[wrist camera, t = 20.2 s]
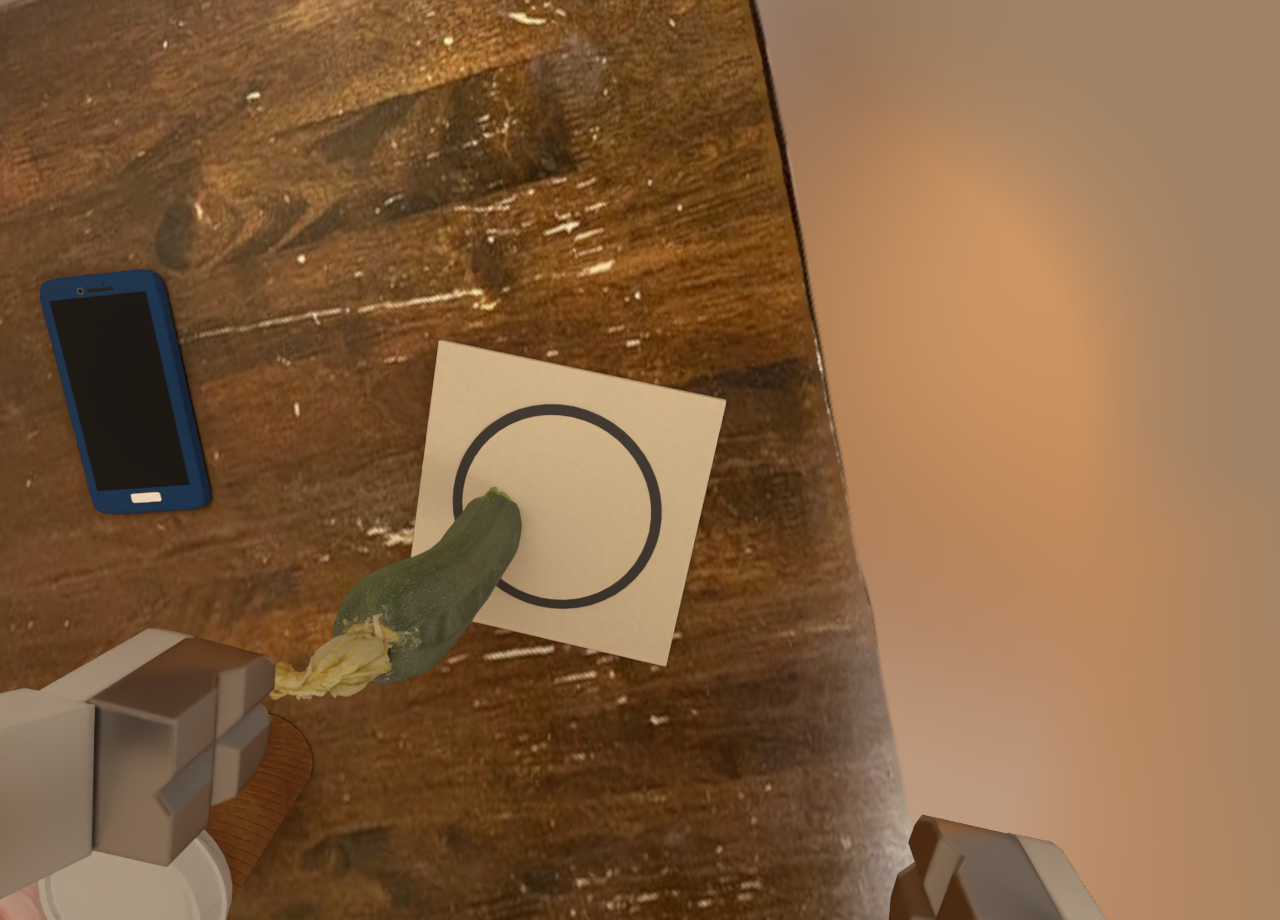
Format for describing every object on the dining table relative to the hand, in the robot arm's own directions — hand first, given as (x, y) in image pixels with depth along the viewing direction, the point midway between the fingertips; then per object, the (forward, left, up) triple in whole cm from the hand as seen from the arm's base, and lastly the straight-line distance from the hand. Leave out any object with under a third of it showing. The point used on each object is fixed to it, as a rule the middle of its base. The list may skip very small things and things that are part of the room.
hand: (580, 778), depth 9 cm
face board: (+6, +7, -31) cm, 32 cm away
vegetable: (+9, +8, -30) cm, 33 cm away
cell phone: (+32, +6, -31) cm, 45 cm away
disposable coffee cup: (+22, +28, -31) cm, 47 cm away
